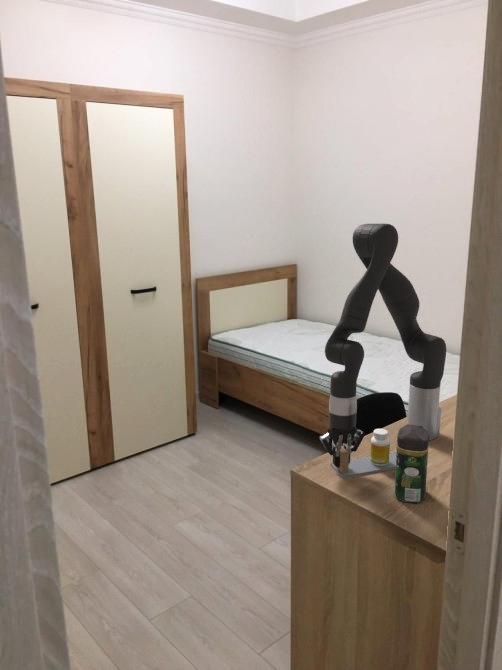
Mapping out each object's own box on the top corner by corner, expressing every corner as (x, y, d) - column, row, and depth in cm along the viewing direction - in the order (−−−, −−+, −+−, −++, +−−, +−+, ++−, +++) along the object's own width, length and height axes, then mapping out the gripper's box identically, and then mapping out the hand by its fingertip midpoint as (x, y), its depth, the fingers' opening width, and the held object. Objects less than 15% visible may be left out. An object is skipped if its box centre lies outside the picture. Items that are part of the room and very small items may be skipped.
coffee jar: (395, 483, 157) (399, 420, 152) (425, 487, 154) (430, 423, 149) (392, 501, 148) (396, 435, 143) (424, 506, 145) (429, 439, 140)
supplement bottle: (388, 467, 164) (390, 436, 161) (369, 465, 165) (370, 434, 162) (388, 458, 169) (390, 428, 166) (370, 456, 170) (371, 426, 167)
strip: (409, 451, 174) (410, 431, 172) (424, 463, 167) (426, 442, 165) (330, 464, 167) (330, 444, 165) (342, 478, 160) (343, 456, 158)
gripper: (359, 401, 164) (357, 456, 169) (314, 407, 160) (313, 463, 165) (371, 411, 157) (369, 468, 162) (325, 417, 153) (324, 476, 158)
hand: (341, 465), depth 163 cm, fingers closed on strip, 2 cm apart
